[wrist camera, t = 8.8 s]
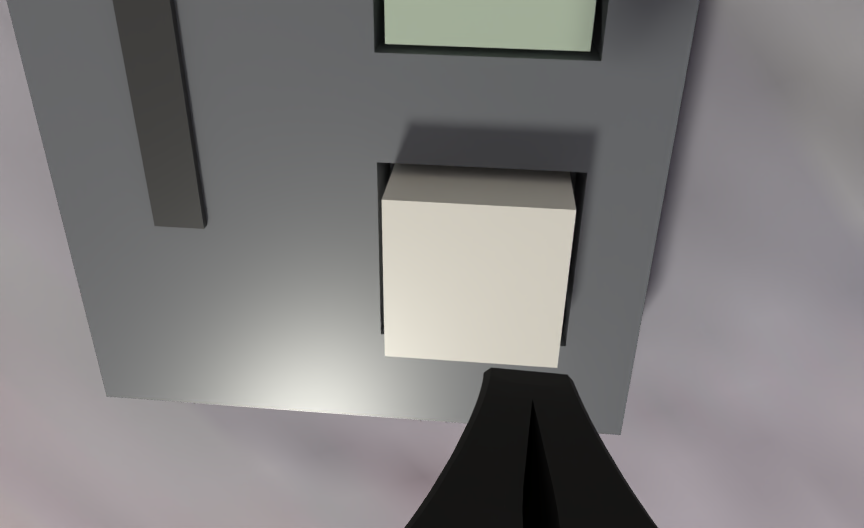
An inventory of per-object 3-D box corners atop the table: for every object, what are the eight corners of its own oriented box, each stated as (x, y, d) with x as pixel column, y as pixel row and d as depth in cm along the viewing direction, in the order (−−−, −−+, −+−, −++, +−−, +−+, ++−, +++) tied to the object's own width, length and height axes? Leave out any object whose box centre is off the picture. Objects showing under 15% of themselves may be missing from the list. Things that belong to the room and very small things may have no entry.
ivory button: (569, 167, 17) (576, 209, 15) (552, 313, 19) (557, 368, 17) (396, 159, 18) (381, 199, 16) (397, 303, 19) (384, 356, 17)
